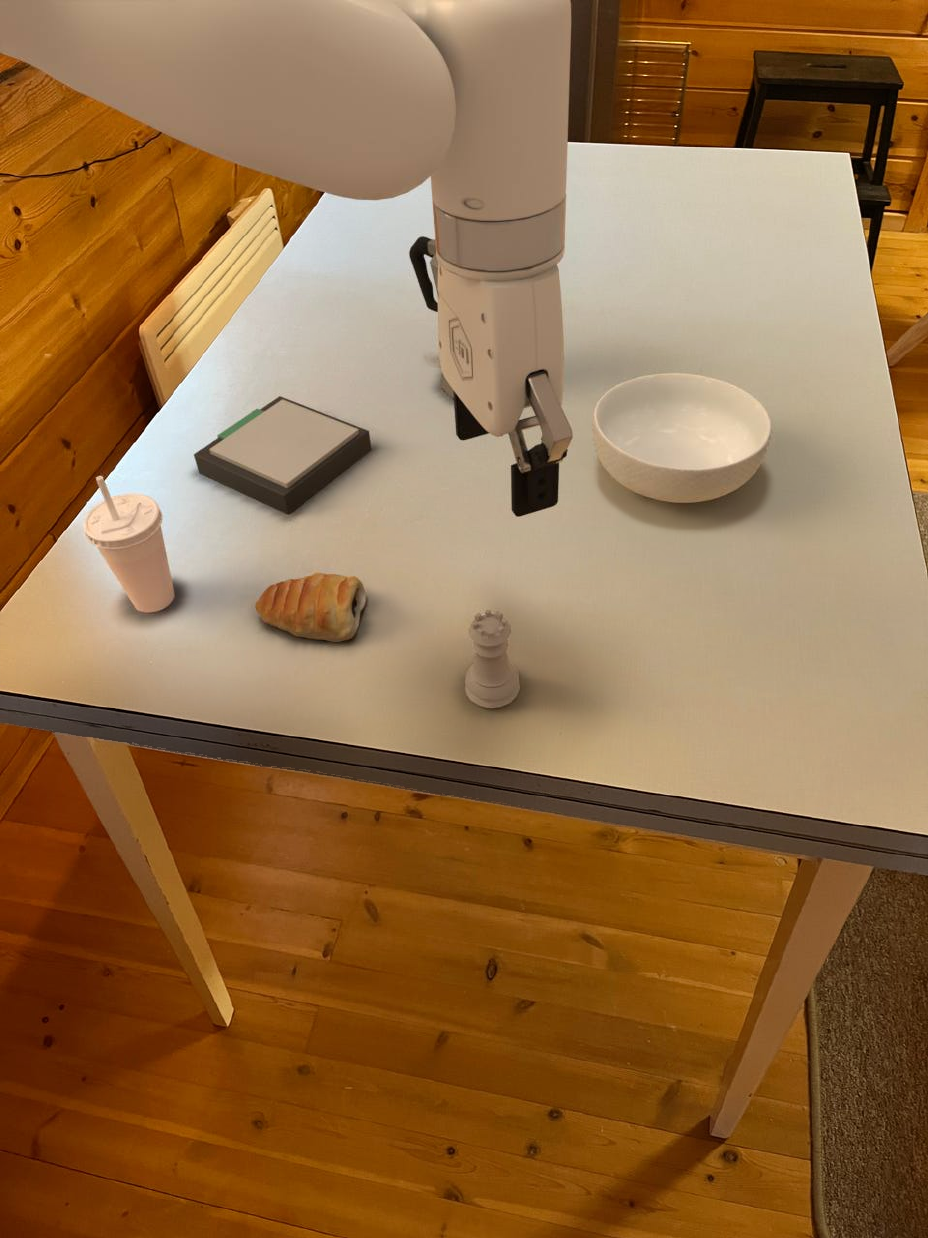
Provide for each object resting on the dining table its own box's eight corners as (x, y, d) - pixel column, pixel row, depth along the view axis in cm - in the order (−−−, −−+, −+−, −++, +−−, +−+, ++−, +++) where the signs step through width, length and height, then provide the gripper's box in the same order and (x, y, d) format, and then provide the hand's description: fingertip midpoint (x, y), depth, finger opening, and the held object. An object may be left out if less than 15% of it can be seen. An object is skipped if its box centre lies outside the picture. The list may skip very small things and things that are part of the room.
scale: (199, 473, 98) (191, 449, 96) (283, 414, 105) (278, 390, 103) (288, 514, 92) (283, 490, 90) (371, 449, 99) (368, 425, 97)
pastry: (250, 641, 80) (241, 609, 78) (270, 587, 85) (262, 556, 82) (356, 646, 79) (350, 614, 77) (371, 591, 84) (365, 560, 81)
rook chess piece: (522, 671, 76) (521, 602, 71) (517, 713, 73) (516, 645, 68) (468, 667, 77) (463, 599, 71) (461, 709, 74) (455, 641, 68)
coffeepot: (550, 381, 107) (552, 225, 94) (502, 420, 102) (498, 260, 89) (445, 345, 114) (434, 195, 101) (396, 380, 109) (378, 226, 96)
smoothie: (103, 610, 84) (46, 486, 74) (150, 566, 88) (102, 443, 78) (157, 632, 82) (106, 507, 72) (203, 586, 85) (161, 461, 75)
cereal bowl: (795, 496, 90) (811, 435, 85) (650, 551, 86) (658, 490, 81) (692, 412, 101) (701, 353, 96) (559, 456, 97) (561, 397, 92)
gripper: (388, 189, 58) (412, 421, 70) (501, 306, 47) (507, 559, 59) (497, 166, 60) (502, 396, 72) (632, 273, 48) (611, 526, 61)
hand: (504, 469), depth 65 cm, fingers open, 9 cm apart
